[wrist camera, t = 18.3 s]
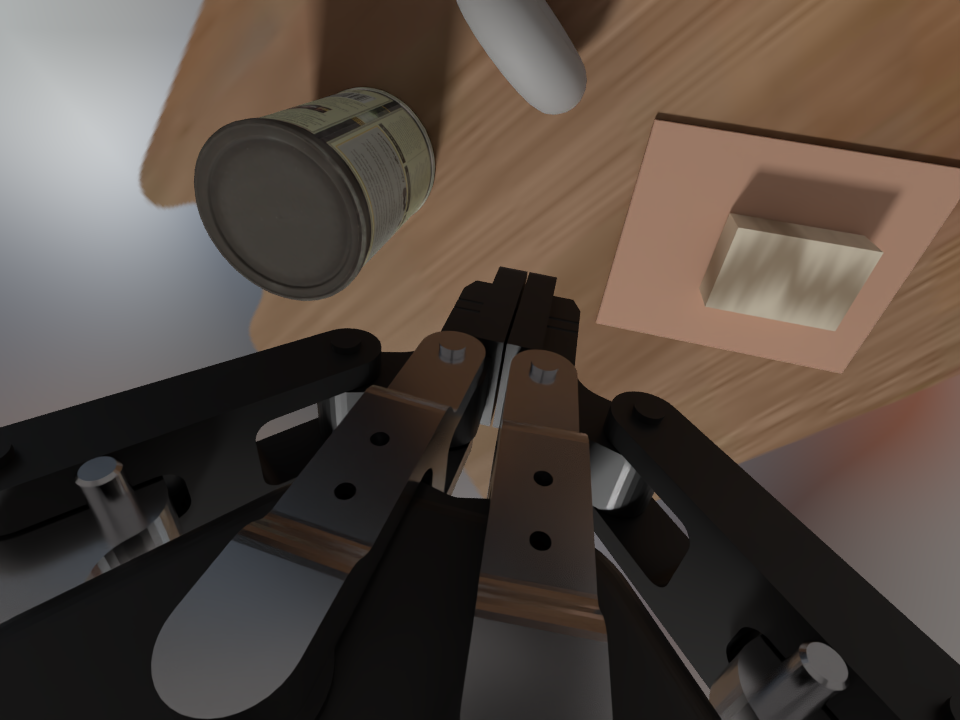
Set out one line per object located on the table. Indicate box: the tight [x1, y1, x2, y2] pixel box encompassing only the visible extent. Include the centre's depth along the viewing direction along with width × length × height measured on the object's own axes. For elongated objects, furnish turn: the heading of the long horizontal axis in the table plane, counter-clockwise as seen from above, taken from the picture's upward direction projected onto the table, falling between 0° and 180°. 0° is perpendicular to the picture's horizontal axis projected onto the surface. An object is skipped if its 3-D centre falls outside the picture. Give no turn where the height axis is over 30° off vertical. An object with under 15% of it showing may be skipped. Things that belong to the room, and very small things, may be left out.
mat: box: [596, 119, 960, 374], centre depth 37 cm, size 16×20×1 cm
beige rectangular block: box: [699, 213, 884, 331], centre depth 36 cm, size 6×3×9 cm
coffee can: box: [194, 87, 435, 301], centre depth 34 cm, size 10×10×14 cm
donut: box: [456, 0, 587, 114], centre depth 28 cm, size 10×3×10 cm, turn 41°
